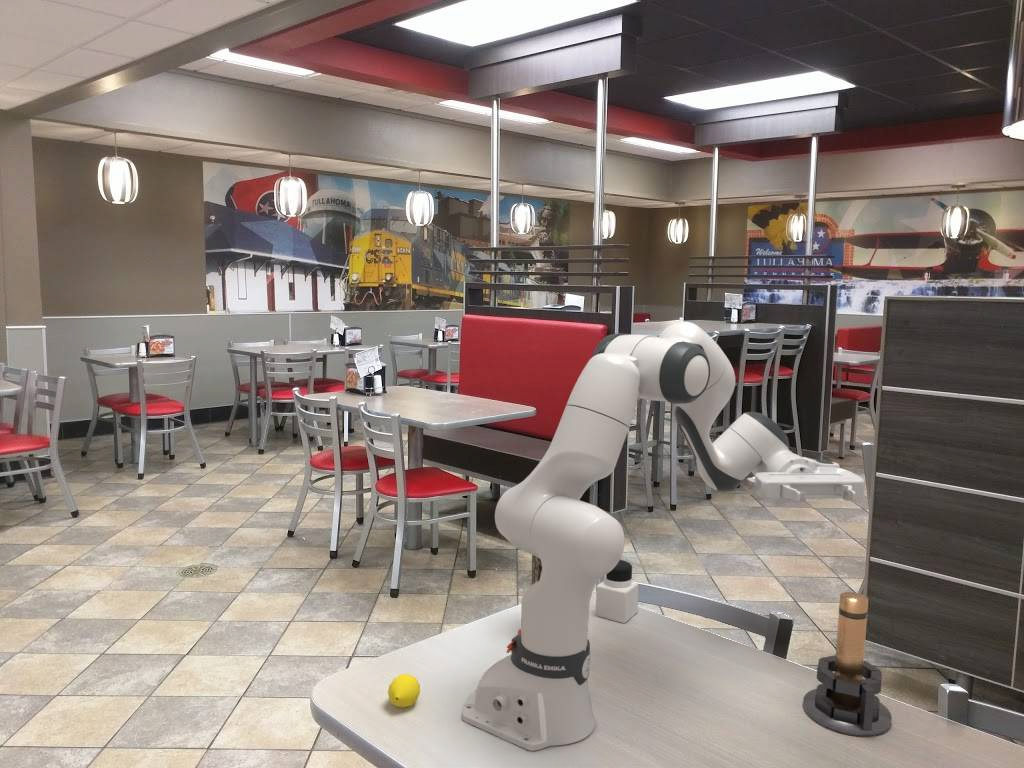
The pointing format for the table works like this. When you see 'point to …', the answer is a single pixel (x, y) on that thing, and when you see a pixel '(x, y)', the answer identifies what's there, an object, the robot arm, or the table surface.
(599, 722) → the table surface
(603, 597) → the medicine bottle
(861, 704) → the collar stand
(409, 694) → the lemon
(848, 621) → the tube
